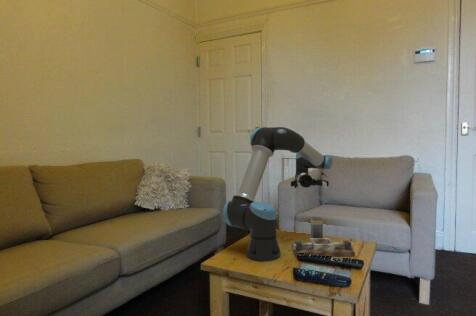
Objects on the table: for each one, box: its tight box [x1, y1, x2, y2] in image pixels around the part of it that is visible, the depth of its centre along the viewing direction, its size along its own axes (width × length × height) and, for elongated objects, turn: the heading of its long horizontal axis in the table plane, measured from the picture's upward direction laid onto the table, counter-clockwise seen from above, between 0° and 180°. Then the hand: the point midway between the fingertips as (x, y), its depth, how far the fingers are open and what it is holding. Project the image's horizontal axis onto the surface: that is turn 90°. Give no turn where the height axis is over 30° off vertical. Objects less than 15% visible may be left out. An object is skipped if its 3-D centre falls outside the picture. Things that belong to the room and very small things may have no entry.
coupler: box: [310, 216, 324, 238], centre depth 166 cm, size 5×5×13 cm
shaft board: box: [291, 237, 356, 258], centre depth 155 cm, size 27×12×5 cm, turn 89°
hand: (312, 186), depth 174 cm, fingers open, 13 cm apart
